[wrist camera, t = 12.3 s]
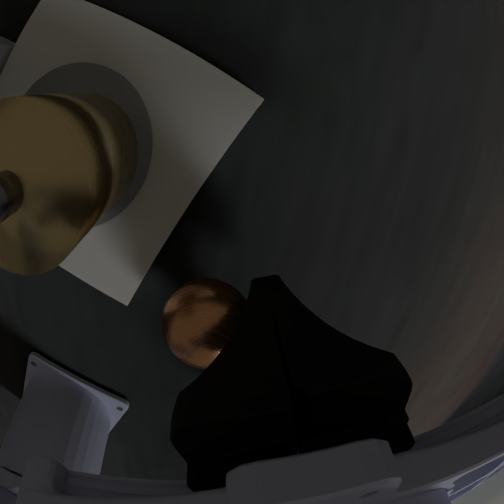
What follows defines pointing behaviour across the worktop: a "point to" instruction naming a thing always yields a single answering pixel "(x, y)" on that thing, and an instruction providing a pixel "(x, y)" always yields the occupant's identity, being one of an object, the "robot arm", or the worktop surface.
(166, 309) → the lever
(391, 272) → the worktop surface
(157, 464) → the worktop surface
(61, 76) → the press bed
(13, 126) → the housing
